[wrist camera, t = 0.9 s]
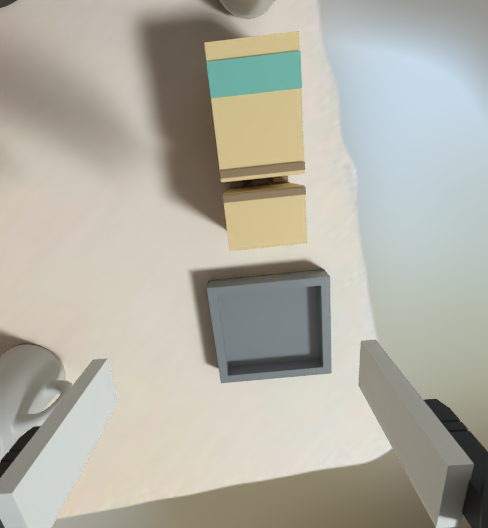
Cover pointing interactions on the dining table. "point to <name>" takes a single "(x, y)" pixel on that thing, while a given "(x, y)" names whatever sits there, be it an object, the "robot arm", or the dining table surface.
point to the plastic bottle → (247, 7)
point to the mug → (27, 390)
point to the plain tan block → (265, 216)
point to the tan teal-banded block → (257, 107)
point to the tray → (271, 325)
